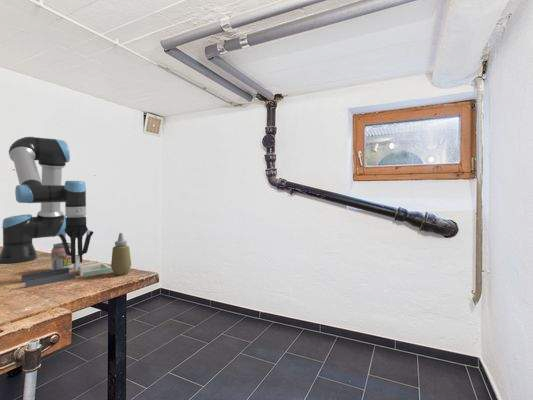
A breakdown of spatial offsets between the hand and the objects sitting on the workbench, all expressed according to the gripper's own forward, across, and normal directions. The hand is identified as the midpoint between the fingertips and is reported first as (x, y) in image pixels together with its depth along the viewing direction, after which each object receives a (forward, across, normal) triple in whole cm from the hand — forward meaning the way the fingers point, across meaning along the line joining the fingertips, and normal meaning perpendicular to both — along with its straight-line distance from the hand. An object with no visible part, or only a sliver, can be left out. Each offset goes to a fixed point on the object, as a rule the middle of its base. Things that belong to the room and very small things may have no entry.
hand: (77, 270), depth 126 cm
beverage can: (+2, -2, +14) cm, 14 cm away
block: (+2, +5, 0) cm, 5 cm away
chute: (+2, -10, 0) cm, 10 cm away
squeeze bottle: (+2, +14, -12) cm, 19 cm away
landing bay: (+2, +6, 0) cm, 6 cm away
